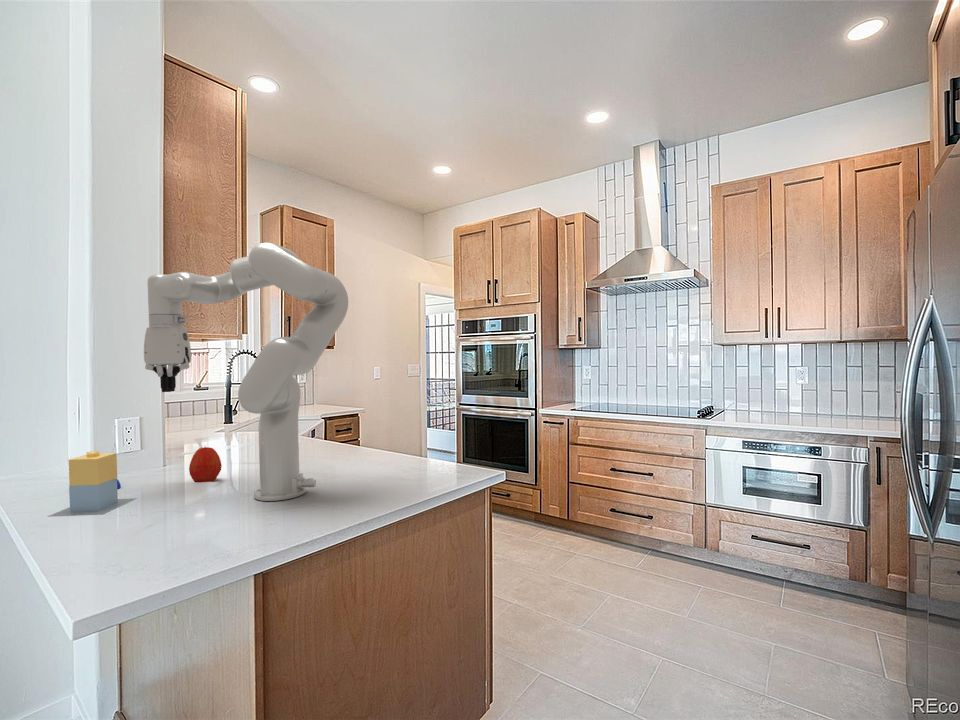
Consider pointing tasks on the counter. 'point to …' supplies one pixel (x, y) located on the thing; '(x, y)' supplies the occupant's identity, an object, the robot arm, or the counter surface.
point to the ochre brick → (92, 468)
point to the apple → (205, 465)
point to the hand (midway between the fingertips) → (168, 391)
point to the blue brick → (93, 496)
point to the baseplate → (67, 511)
